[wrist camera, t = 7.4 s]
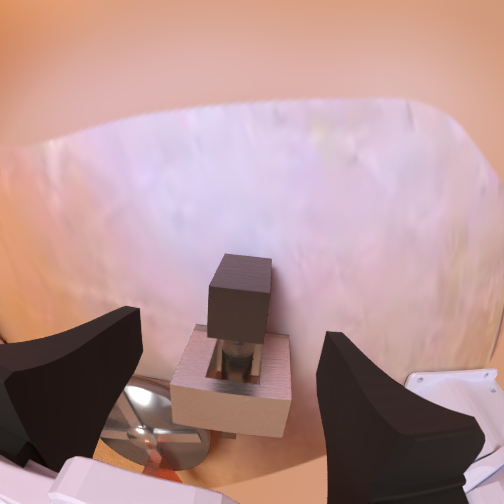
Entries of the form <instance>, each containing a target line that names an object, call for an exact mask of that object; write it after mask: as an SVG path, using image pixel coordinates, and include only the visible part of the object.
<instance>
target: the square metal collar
mask: <svg viewBox="0 0 504 504" xmlns="http://www.w3.org/2000/svg"><path fill="white" fill-rule="evenodd" d="M222 344H223V340H222V339H215V338H208V337H207V326H206V325H199V324H196V326H195V328H194V330H193V333H192V335H191V337H190V339H189V342H188V344H187V346H186V348H185V351H184V353H183V355H182V357H181V359H180V362H179V364H178V366H177V369H176V371H175V373H174V375H173V378H172V380H171V382H170V395H171V408H172V419H173V423H176V424H181V425H186V426H192V427H197V428H203V429H210V430H216V431H223V432H230V433H238V434H246V435H256V436H266V437H279V438H282V437H283V433H284V429H285V425H286V421H287V417H288V413H289V409H290V405H291V401H292V397H291V373H290V351H289V335H282V334H272V333H265V337H264V344H255V346H254V354H253V362H252V371H251V375H254V376H258V384H251V383H243V382H235V381H227V380H220V379H215V375H216V372H217V371H221V361H222Z"/></svg>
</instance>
